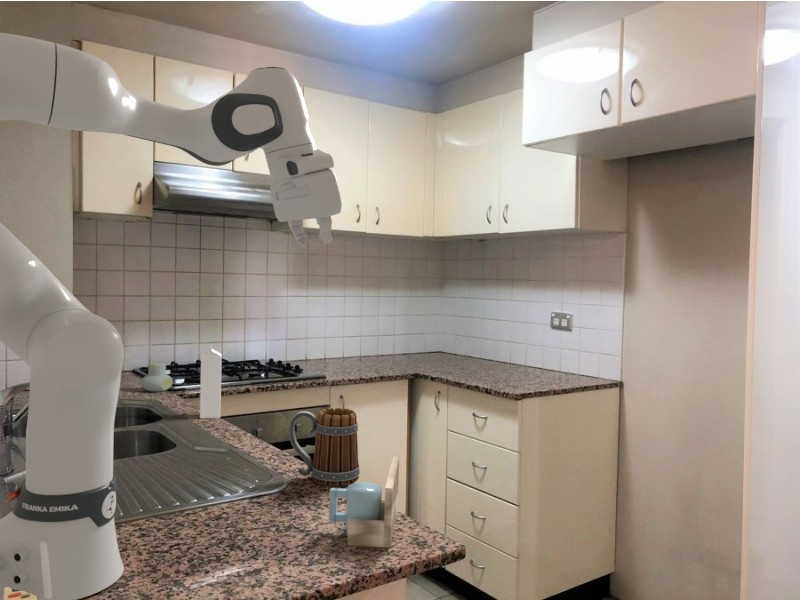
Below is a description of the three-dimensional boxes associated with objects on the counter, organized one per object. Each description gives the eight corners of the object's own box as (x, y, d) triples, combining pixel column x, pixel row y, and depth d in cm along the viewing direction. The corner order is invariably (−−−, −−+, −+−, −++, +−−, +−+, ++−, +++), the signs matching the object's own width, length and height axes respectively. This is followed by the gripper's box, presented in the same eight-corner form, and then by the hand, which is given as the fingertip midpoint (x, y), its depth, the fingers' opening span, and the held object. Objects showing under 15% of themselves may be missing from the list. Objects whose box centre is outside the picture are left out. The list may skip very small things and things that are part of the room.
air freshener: (157, 394, 218) (157, 366, 217) (137, 392, 220) (137, 364, 219) (175, 388, 228) (176, 362, 228) (156, 387, 230) (156, 360, 230)
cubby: (347, 545, 102) (349, 486, 102) (361, 504, 120) (362, 454, 120) (390, 547, 102) (392, 488, 101) (397, 506, 120) (399, 456, 119)
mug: (360, 472, 140) (362, 407, 139) (358, 488, 129) (360, 418, 129) (291, 470, 139) (293, 405, 139) (284, 486, 129) (286, 416, 128)
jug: (326, 538, 105) (327, 492, 104) (332, 524, 111) (333, 480, 110) (378, 541, 104) (380, 495, 104) (381, 526, 110) (383, 483, 110)
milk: (199, 418, 184) (200, 346, 183) (200, 414, 190) (201, 343, 189) (220, 418, 186) (221, 345, 185) (220, 413, 192) (221, 343, 191)
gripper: (255, 175, 113) (275, 248, 116) (303, 162, 96) (325, 247, 99) (286, 169, 116) (305, 239, 119) (337, 154, 99) (357, 238, 102)
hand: (314, 243), depth 109 cm, fingers open, 8 cm apart
